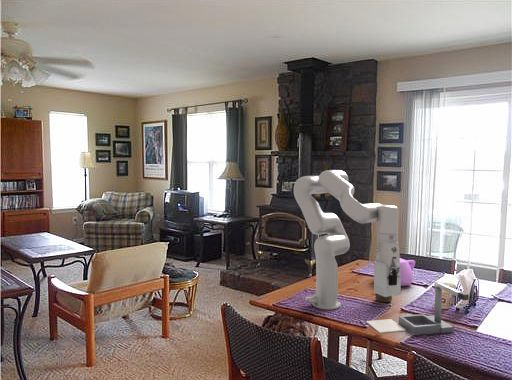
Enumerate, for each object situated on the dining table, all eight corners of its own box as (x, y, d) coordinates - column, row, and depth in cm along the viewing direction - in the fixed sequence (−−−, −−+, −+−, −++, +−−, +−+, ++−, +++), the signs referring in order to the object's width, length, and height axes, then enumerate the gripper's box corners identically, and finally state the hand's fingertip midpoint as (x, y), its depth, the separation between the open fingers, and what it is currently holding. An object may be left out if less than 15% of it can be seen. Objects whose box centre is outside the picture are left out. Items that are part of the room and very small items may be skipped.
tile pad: (379, 333, 153) (379, 332, 153) (366, 322, 164) (366, 321, 164) (406, 330, 155) (406, 329, 155) (391, 319, 166) (391, 319, 166)
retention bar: (470, 299, 144) (470, 294, 144) (462, 300, 144) (462, 294, 143) (439, 286, 160) (439, 281, 160) (432, 286, 160) (432, 281, 160)
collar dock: (415, 335, 151) (416, 294, 150) (397, 323, 163) (398, 285, 162) (453, 332, 154) (454, 292, 153) (433, 320, 166) (434, 282, 165)
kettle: (423, 286, 211) (424, 258, 210) (386, 289, 206) (387, 260, 205) (399, 275, 233) (399, 249, 232) (365, 277, 228) (365, 250, 227)
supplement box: (385, 297, 154) (385, 264, 153) (373, 292, 161) (373, 260, 160) (401, 295, 156) (401, 262, 156) (388, 290, 163) (388, 259, 163)
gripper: (409, 241, 149) (408, 287, 150) (385, 233, 166) (384, 275, 168) (390, 241, 148) (389, 289, 149) (368, 233, 165) (367, 276, 166)
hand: (386, 281), depth 158 cm, fingers closed on supplement box, 8 cm apart
